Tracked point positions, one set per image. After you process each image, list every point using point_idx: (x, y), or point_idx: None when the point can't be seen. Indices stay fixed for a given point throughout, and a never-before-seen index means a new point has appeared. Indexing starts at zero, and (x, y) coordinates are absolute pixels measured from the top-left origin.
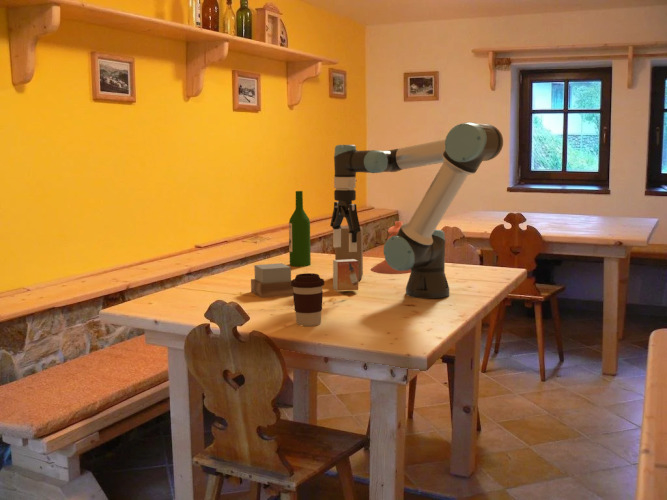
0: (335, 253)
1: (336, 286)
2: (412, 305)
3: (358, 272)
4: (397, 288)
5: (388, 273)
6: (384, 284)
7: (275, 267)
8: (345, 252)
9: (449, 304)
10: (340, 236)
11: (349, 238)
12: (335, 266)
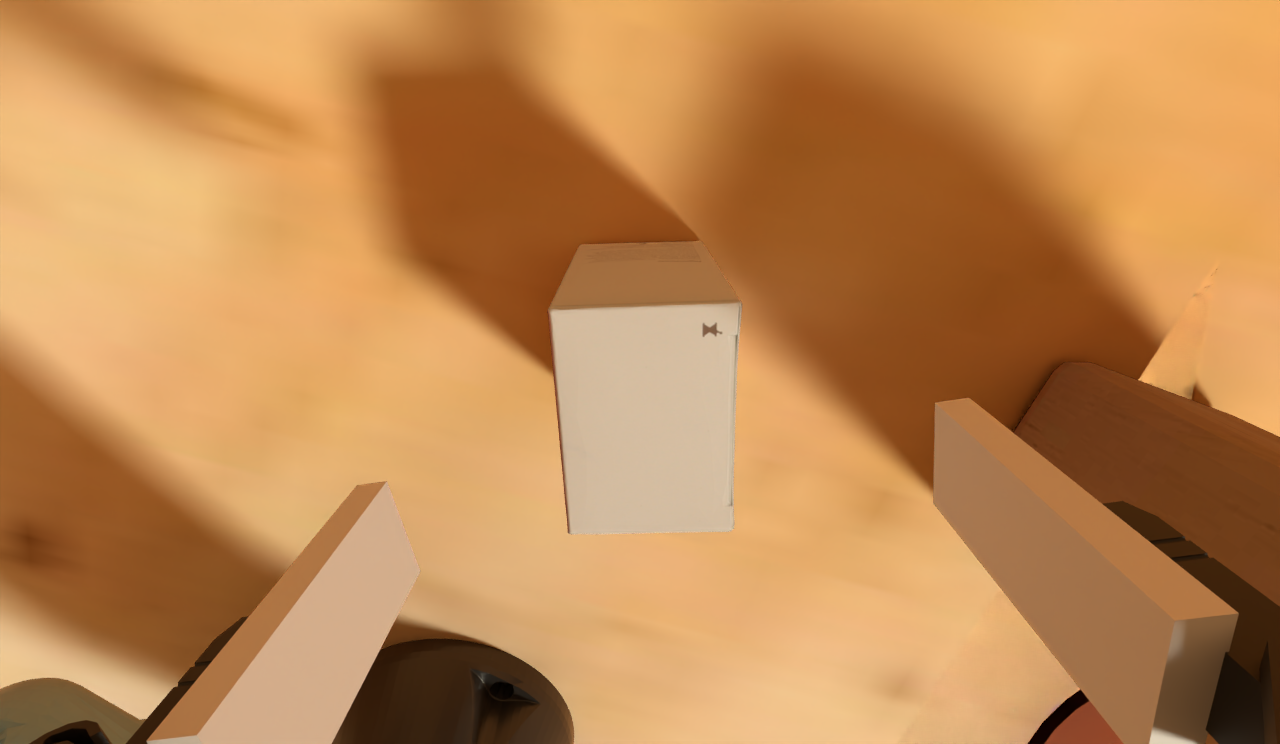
0: None
1: (597, 248)
2: (26, 555)
3: None
4: (582, 630)
5: (1076, 719)
6: (744, 604)
7: None
8: None
9: None
10: (1029, 616)
11: (253, 636)
12: (623, 285)
